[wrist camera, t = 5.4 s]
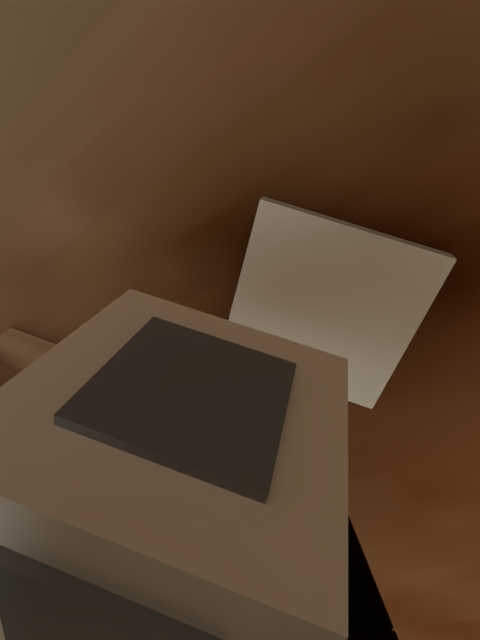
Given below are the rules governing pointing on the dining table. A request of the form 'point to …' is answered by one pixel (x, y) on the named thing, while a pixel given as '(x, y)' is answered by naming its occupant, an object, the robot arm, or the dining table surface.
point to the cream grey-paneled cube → (174, 483)
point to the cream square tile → (337, 290)
